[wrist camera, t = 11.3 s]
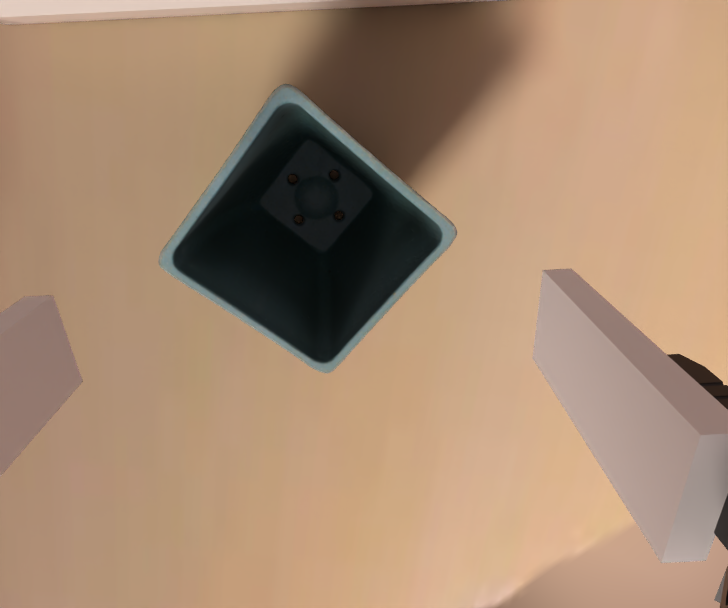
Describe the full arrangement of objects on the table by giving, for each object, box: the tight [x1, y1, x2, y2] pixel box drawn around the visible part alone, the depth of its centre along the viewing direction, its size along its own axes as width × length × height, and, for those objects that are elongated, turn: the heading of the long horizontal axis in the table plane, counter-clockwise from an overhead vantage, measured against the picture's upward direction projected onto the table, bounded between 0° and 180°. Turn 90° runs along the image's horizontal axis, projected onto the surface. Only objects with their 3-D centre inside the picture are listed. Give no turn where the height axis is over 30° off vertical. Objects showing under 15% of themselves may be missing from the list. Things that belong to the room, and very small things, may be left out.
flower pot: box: [159, 84, 457, 373], centre depth 24 cm, size 9×9×9 cm
